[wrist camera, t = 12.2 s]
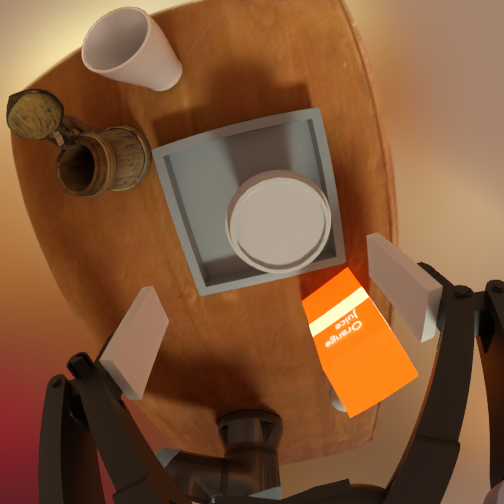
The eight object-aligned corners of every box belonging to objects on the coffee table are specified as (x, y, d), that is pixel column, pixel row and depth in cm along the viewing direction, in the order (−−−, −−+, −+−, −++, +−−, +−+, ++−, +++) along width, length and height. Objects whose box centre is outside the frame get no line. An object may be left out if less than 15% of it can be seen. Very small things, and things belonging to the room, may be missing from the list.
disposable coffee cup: (251, 148, 31) (254, 151, 20) (319, 182, 33) (354, 204, 22) (219, 216, 35) (206, 253, 24) (285, 246, 36) (301, 292, 25)
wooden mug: (125, 87, 28) (41, 60, 12) (161, 172, 33) (90, 203, 17) (77, 120, 29) (-15, 124, 13) (110, 200, 34) (28, 248, 18)
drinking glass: (183, 98, 30) (141, 71, 16) (135, 96, 29) (72, 77, 15) (193, 51, 27) (161, 1, 13) (145, 51, 26) (91, 12, 13)
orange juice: (369, 297, 41) (426, 387, 23) (327, 328, 43) (362, 427, 25) (347, 265, 39) (409, 358, 20) (300, 300, 41) (332, 407, 23)
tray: (338, 252, 38) (346, 262, 35) (203, 283, 40) (200, 296, 36) (312, 110, 30) (319, 107, 27) (159, 148, 32) (151, 150, 29)
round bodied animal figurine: (324, 386, 53) (332, 420, 47) (323, 370, 45) (333, 412, 39) (355, 377, 53) (364, 411, 47) (361, 359, 44) (373, 400, 38)
